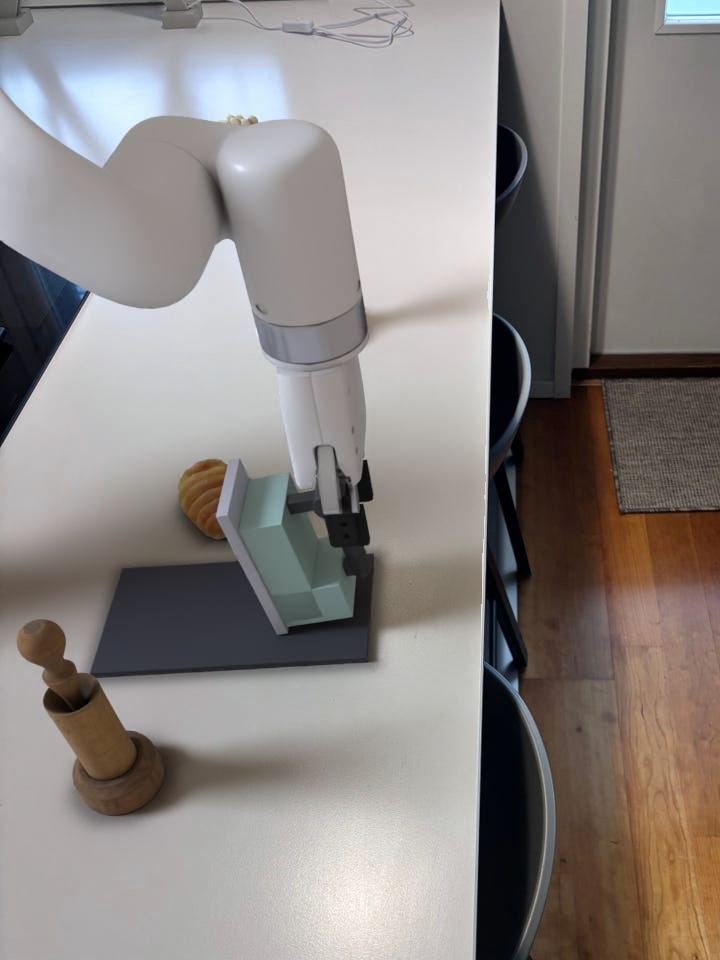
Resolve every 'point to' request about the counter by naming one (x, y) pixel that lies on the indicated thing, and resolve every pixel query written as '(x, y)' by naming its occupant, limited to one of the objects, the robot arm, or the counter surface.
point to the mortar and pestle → (92, 728)
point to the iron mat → (216, 625)
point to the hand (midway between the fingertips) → (352, 520)
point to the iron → (287, 549)
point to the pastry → (203, 495)
